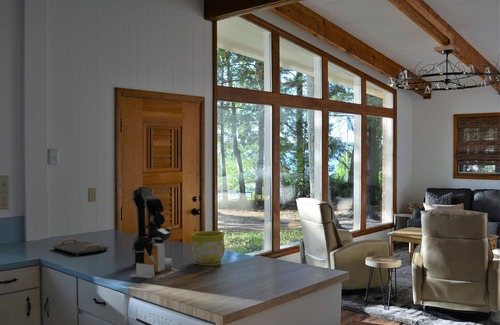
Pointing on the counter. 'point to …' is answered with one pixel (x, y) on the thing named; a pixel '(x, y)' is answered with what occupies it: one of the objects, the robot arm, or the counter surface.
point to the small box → (156, 257)
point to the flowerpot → (208, 247)
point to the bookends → (151, 268)
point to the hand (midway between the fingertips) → (154, 254)
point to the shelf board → (160, 273)
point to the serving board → (79, 247)
